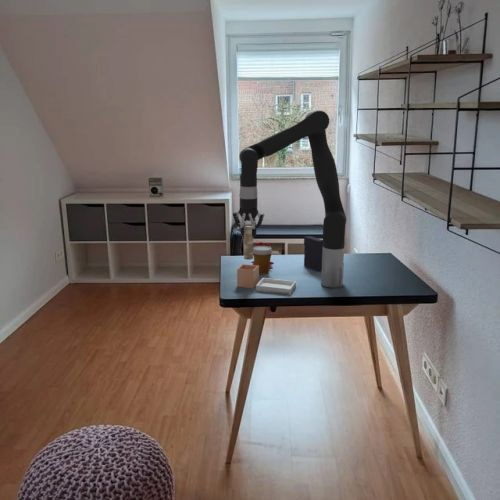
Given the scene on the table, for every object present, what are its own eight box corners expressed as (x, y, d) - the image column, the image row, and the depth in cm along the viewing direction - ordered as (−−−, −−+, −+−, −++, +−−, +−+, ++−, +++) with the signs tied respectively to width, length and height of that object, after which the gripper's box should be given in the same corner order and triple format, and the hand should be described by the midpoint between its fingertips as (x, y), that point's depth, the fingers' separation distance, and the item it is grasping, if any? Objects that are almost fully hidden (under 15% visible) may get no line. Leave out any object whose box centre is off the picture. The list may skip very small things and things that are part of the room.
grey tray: (295, 286, 220) (295, 281, 219) (290, 294, 210) (290, 289, 209) (262, 282, 224) (262, 277, 224) (255, 290, 214) (255, 285, 213)
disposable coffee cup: (270, 276, 234) (270, 251, 230) (250, 274, 235) (250, 249, 232) (273, 270, 243) (273, 246, 239) (253, 268, 244) (254, 244, 241)
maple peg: (254, 257, 220) (254, 226, 216) (251, 259, 216) (251, 228, 212) (245, 256, 221) (245, 225, 217) (242, 259, 217) (242, 227, 213)
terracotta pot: (258, 282, 224) (258, 265, 222) (253, 288, 217) (254, 270, 215) (242, 281, 226) (242, 264, 224) (237, 286, 219) (237, 268, 217)
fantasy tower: (274, 262, 255) (275, 239, 252) (273, 269, 244) (273, 245, 241) (251, 261, 256) (251, 238, 253) (249, 268, 245) (249, 244, 242)
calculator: (324, 270, 243) (325, 240, 239) (317, 271, 241) (319, 241, 237) (309, 264, 252) (310, 235, 248) (302, 266, 250) (303, 236, 246)
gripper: (267, 196, 213) (266, 235, 217) (235, 194, 217) (235, 233, 221) (262, 199, 206) (262, 239, 210) (229, 197, 210) (229, 237, 214)
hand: (248, 236), depth 216 cm, fingers closed on maple peg, 4 cm apart
